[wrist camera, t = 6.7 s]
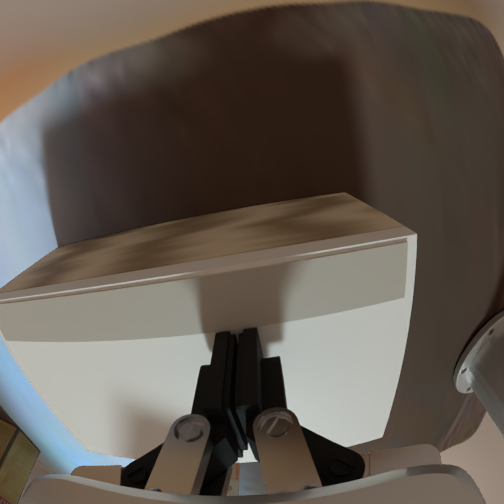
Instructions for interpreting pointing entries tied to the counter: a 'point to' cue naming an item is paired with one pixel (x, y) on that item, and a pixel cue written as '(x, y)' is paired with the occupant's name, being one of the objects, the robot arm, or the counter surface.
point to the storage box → (206, 238)
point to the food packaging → (14, 462)
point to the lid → (221, 320)
